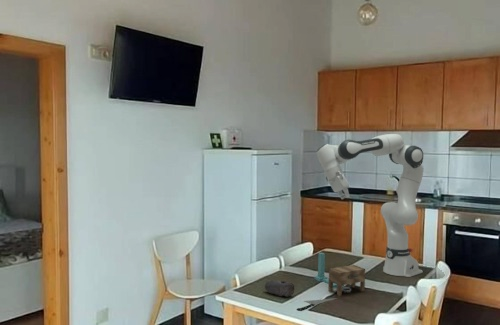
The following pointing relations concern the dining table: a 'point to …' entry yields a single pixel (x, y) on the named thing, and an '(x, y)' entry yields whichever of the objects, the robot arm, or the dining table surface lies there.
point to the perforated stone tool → (280, 288)
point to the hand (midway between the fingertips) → (345, 198)
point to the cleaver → (313, 303)
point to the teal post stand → (321, 270)
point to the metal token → (346, 289)
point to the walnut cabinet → (346, 277)
